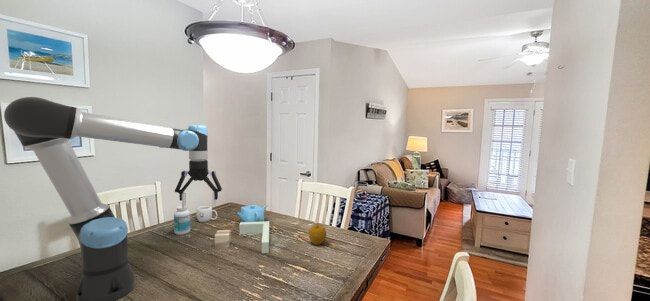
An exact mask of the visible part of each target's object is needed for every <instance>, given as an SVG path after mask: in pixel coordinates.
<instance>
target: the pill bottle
mask: <svg viewBox="0 0 650 301" xmlns="http://www.w3.org/2000/svg"><path fill="white" fill-rule="evenodd" d="M173 230H174V235H175V234H176V235H181V236H182V235H185V234H188V233H190V232H191V210H188V206H187V205H186V207H185V208H182V205H178V206H176V211H175V212H174V213H173Z"/></svg>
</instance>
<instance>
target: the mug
mask: <svg viewBox="0 0 650 301" xmlns="http://www.w3.org/2000/svg"><path fill="white" fill-rule="evenodd" d="M195 212H196V213H195V214H196V218H197V220H198V221H199V222H200V223H206V222H209V221H211V220H213V221H214V220H217V218H218V215H219V214H218V212H217V210H215V209H213V206H211V205H202V206H201V205H200V206H198V207H197V208H196V210H195ZM213 212H214V213H215V215H216V217H214V218H213V217H212V216H213Z"/></svg>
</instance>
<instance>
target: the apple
mask: <svg viewBox="0 0 650 301" xmlns="http://www.w3.org/2000/svg"><path fill="white" fill-rule="evenodd" d="M308 237H309V240H310V241H311V243H312V244H313V245H316V246H319V245H322V243H324V241H325V240H326V238H327V229H326V228H325V226H323V225H320V224H313V226H310V228H309V230H308Z"/></svg>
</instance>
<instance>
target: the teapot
mask: <svg viewBox="0 0 650 301" xmlns="http://www.w3.org/2000/svg"><path fill="white" fill-rule="evenodd" d="M267 207H269V205H268V204H266V205H264V206H263V207H261V206H259V205H257V204H250V205H246V206H241V207H240V211H238V212H237V214H236V215H238V216H239V217H240V222H264V221H265V210H266V208H267Z"/></svg>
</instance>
